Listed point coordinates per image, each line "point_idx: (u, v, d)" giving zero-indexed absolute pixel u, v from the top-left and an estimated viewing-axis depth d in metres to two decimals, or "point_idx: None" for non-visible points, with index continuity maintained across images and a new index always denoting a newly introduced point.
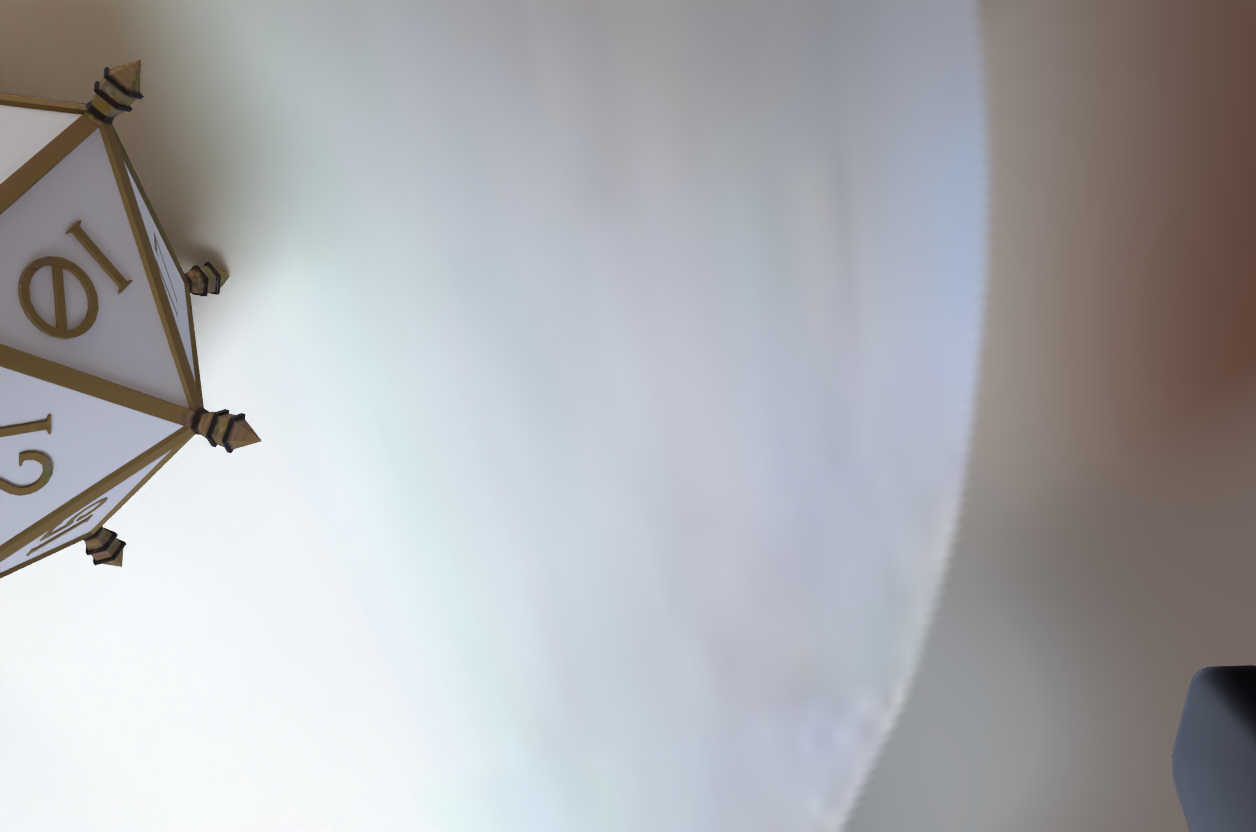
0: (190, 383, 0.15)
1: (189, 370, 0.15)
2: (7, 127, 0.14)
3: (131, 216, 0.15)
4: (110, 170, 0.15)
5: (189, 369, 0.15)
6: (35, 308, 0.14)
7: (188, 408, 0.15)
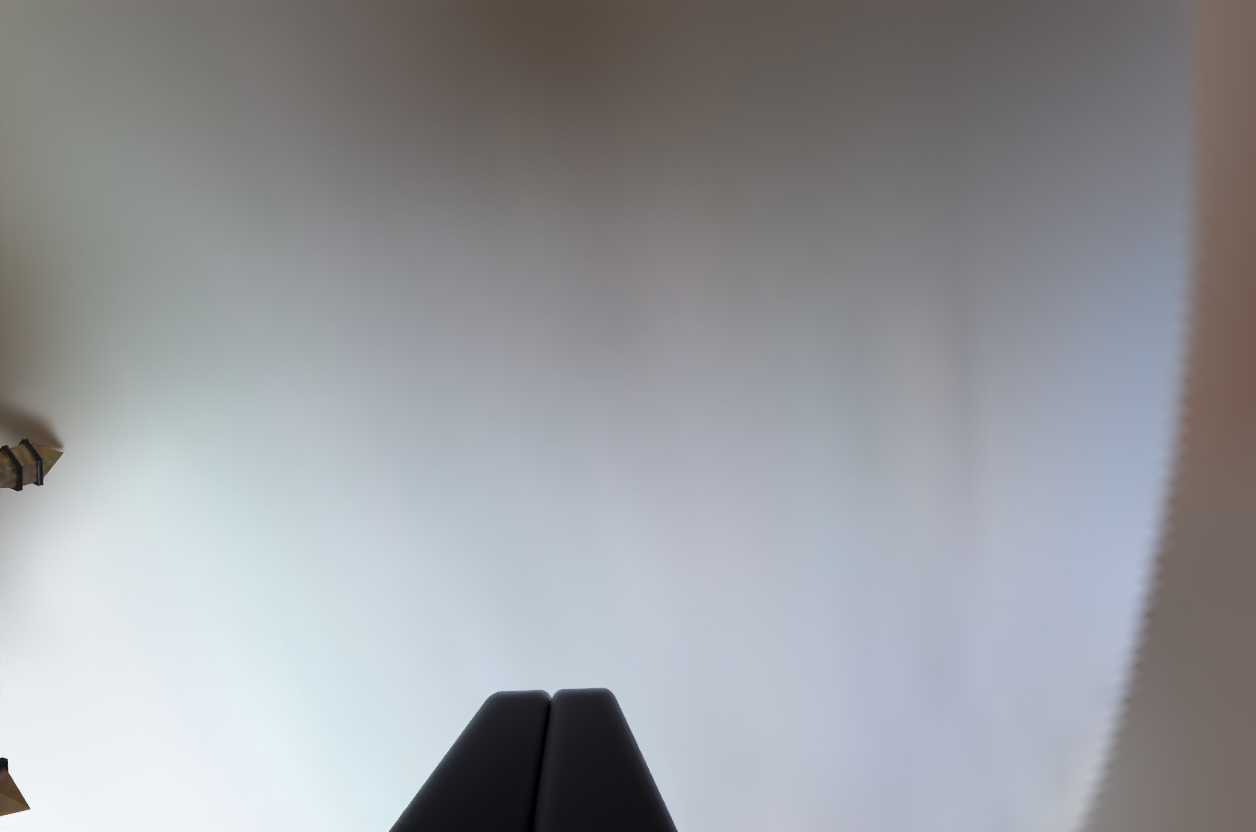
0: None
1: None
2: None
3: None
4: None
5: None
6: None
7: None
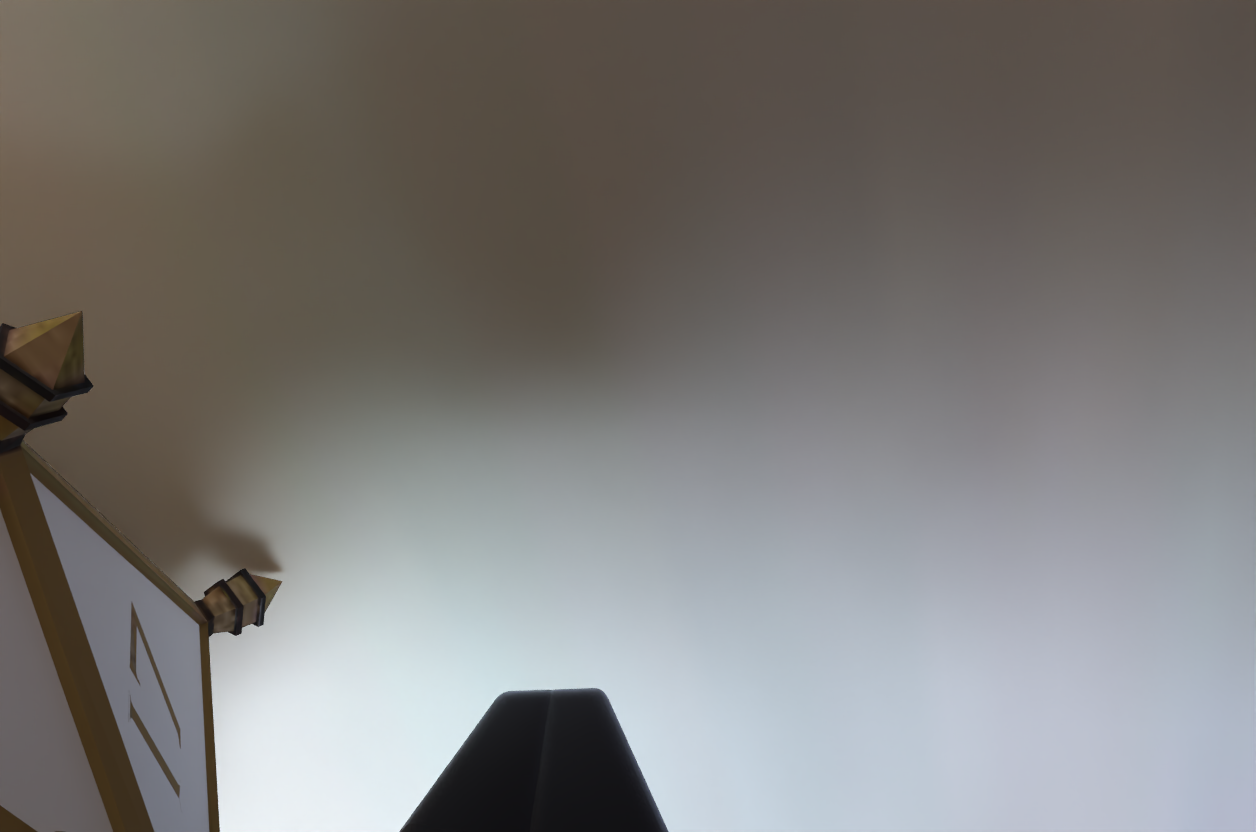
0: None
1: None
2: None
3: (64, 670, 0.06)
4: (13, 568, 0.06)
5: None
6: None
7: None
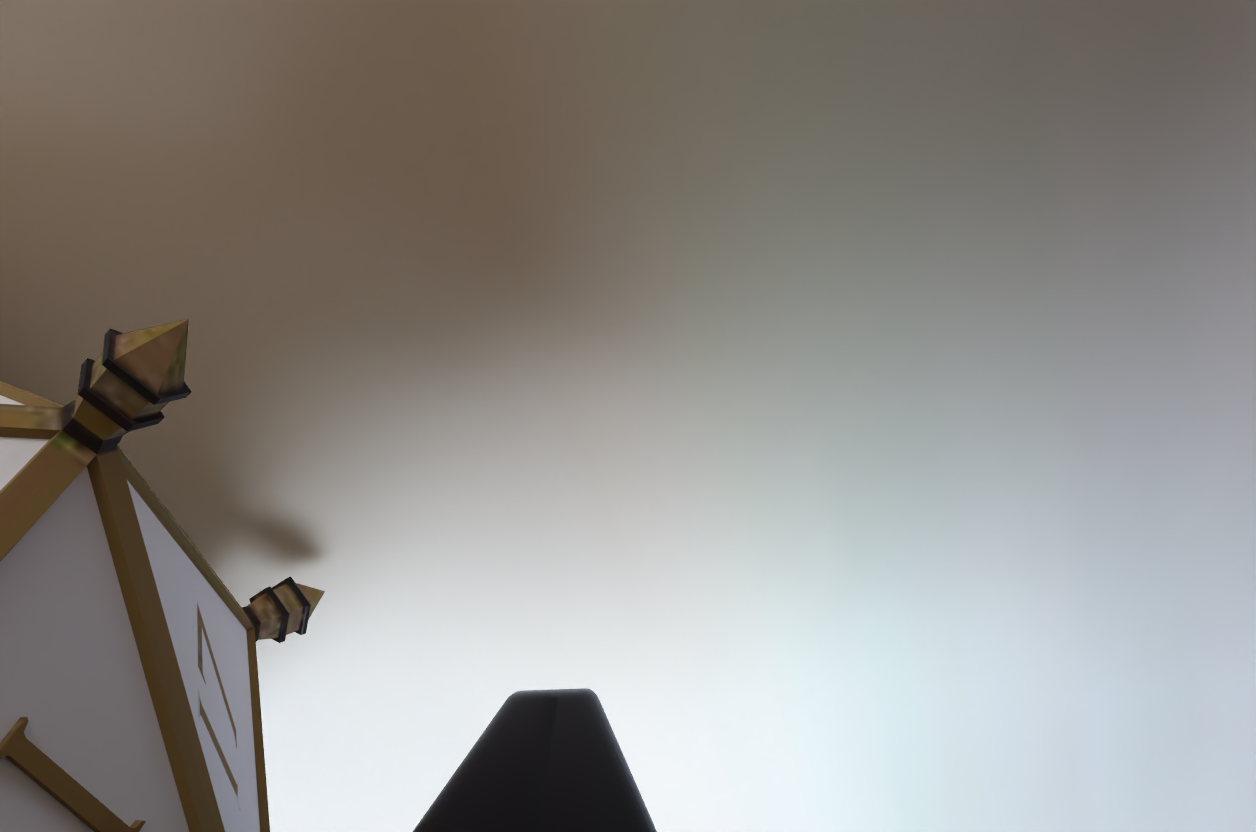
0: None
1: None
2: None
3: (150, 664, 0.07)
4: (108, 564, 0.07)
5: None
6: None
7: None
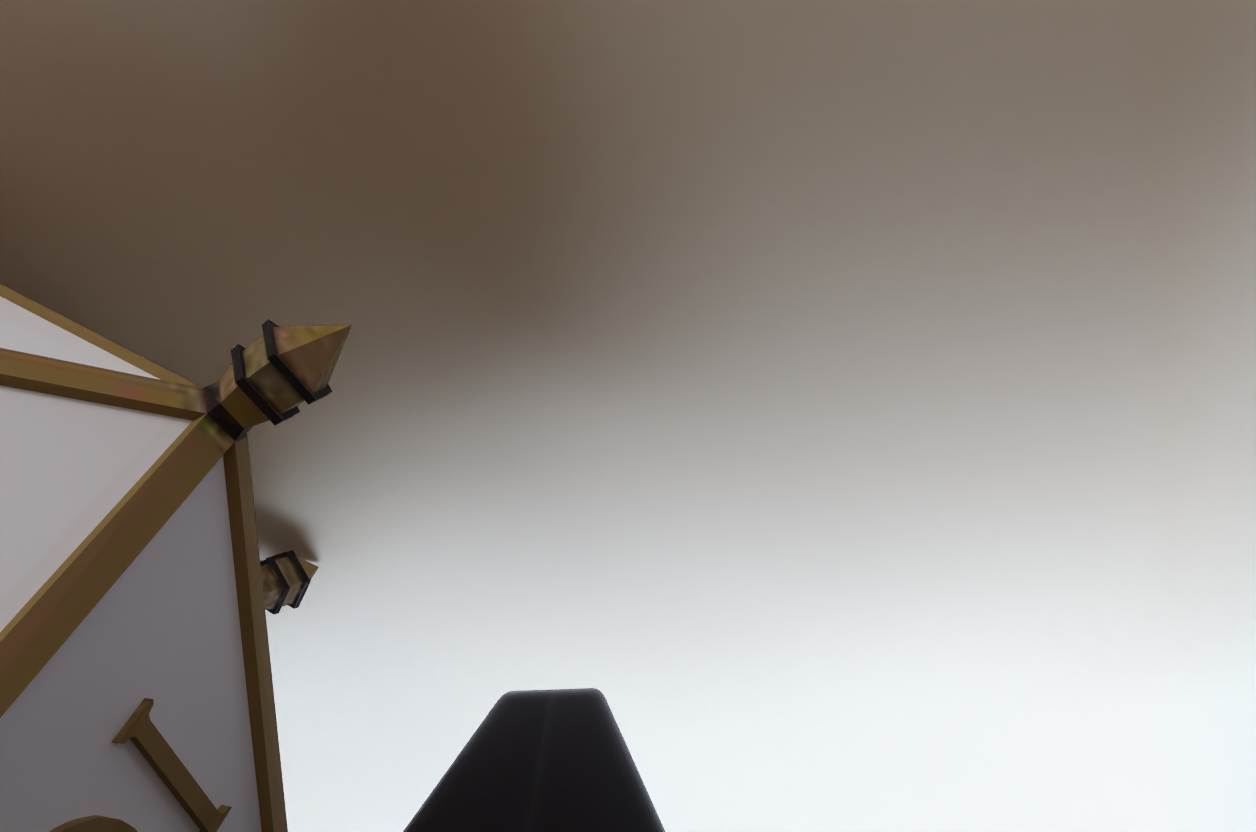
0: None
1: None
2: (18, 454, 0.06)
3: (253, 653, 0.07)
4: (229, 550, 0.07)
5: None
6: None
7: None
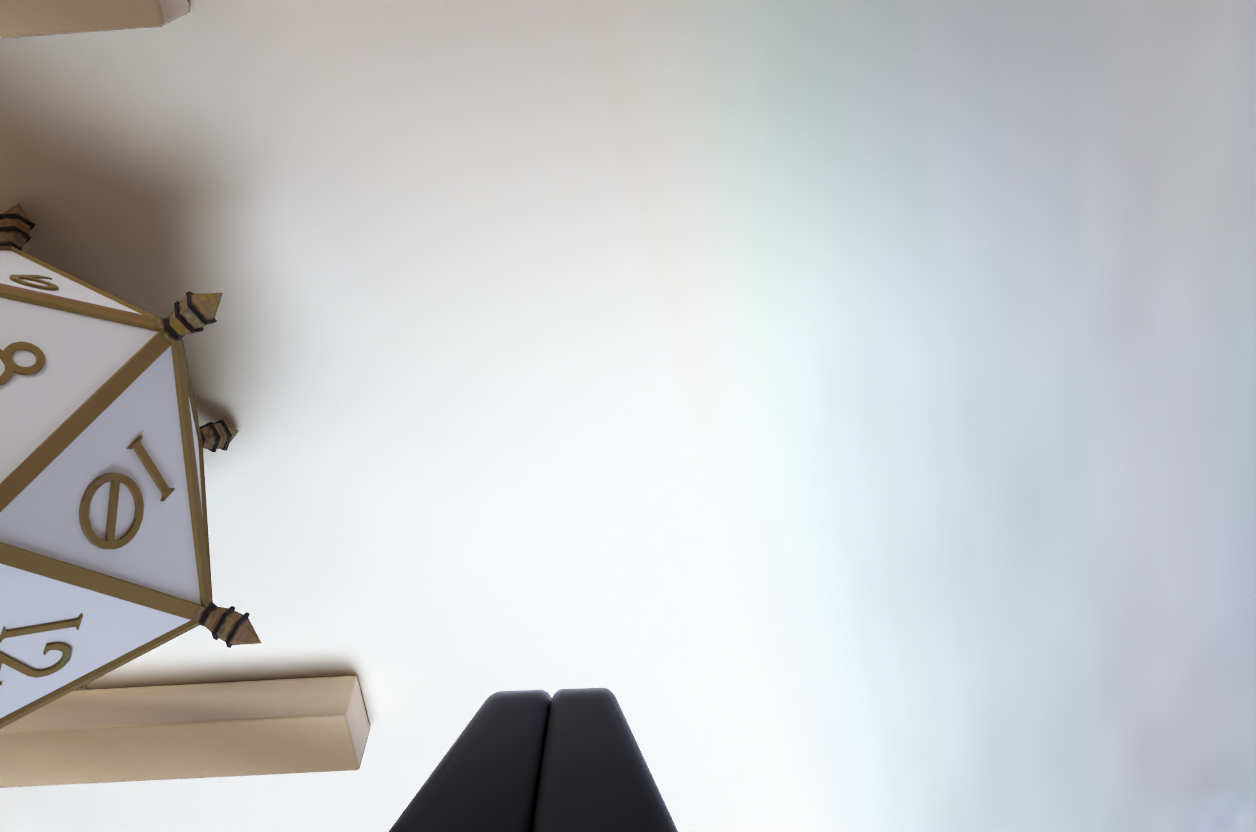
0: (206, 580, 0.17)
1: (206, 567, 0.17)
2: (91, 341, 0.15)
3: (184, 427, 0.16)
4: (173, 384, 0.16)
5: (207, 566, 0.17)
6: (90, 522, 0.15)
7: (199, 601, 0.17)
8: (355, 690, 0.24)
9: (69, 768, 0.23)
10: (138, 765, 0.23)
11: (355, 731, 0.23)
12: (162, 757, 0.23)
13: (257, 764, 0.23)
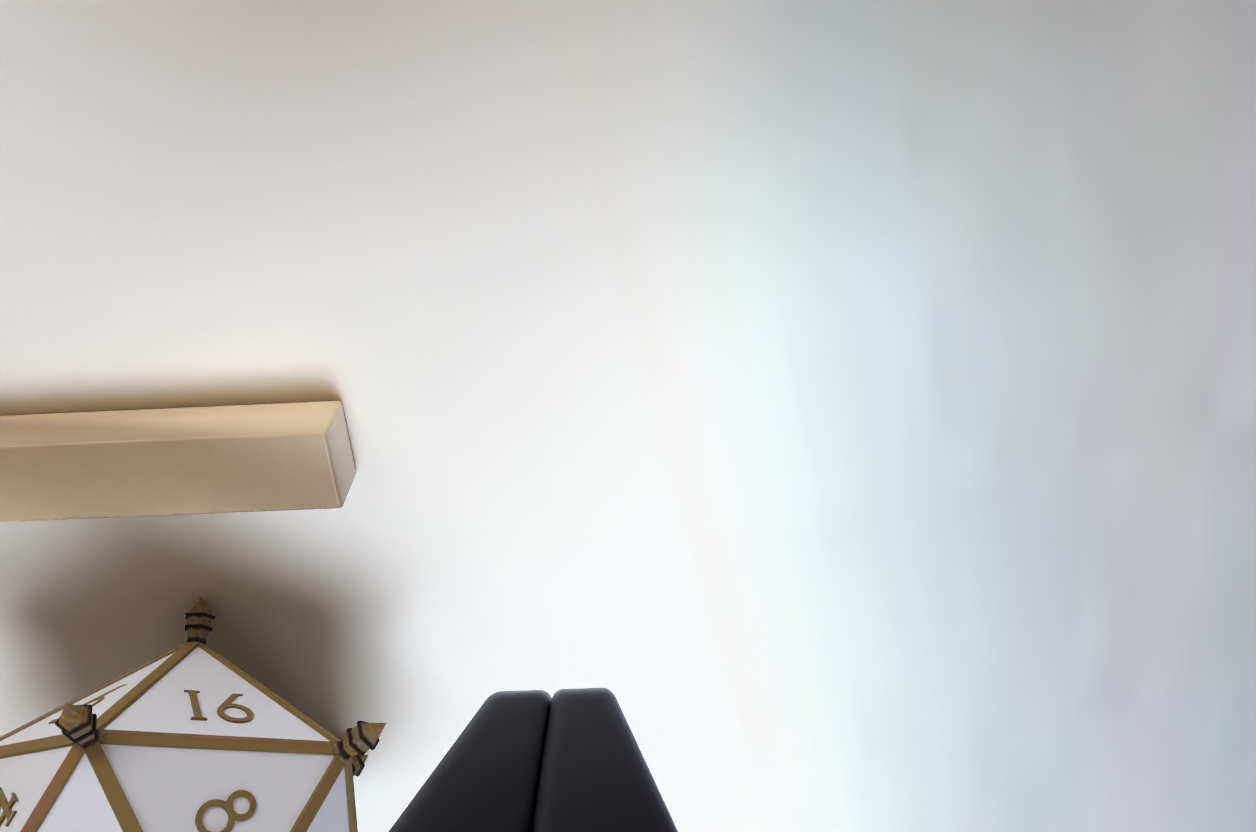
0: None
1: None
2: (287, 776, 0.19)
3: (352, 827, 0.20)
4: (345, 794, 0.20)
5: None
6: None
7: None
8: None
9: None
10: None
11: None
12: None
13: None
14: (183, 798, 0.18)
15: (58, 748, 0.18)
